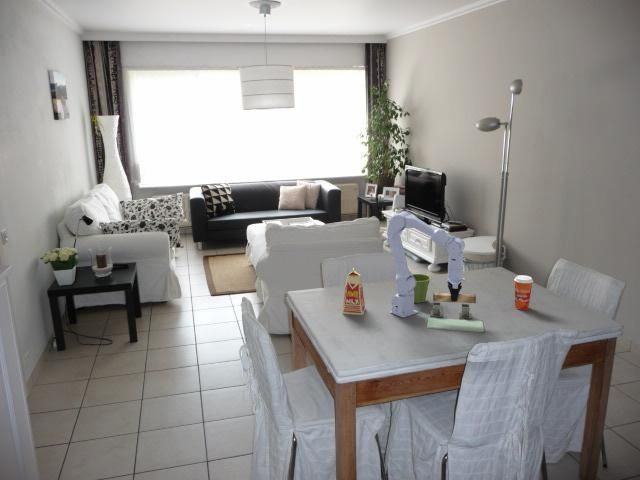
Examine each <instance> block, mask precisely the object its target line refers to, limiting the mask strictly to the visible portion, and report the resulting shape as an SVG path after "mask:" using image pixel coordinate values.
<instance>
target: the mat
mask: <svg viewBox="0 0 640 480" xmlns="http://www.w3.org/2000/svg"><path fill="white" fill-rule="evenodd" d="M426 328H427V329H432V330H449V331H460V332H463V331H464V332H475V333H476V332H477V333H484V332H485V331H484V323H483V321H482V320H472V319H456V318H455V319H454V318H442V317H427V325H426Z"/></svg>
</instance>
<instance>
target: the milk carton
mask: <svg viewBox="0 0 640 480" xmlns="http://www.w3.org/2000/svg"><path fill="white" fill-rule="evenodd" d="M345 280H346V281H345V287H344V298H343V306H342V313H341V314H342V315H343V314H344V315H355V316H364V313H365V310H366V303H365V296H364V287H363V282H362V281H363V280H362V275H361V274H360V273H359V272H357V271H356V270H355V268H354V267H352V270H351V272H349V273H348V274H347V277H346V279H345Z"/></svg>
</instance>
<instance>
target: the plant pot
mask: <svg viewBox="0 0 640 480" xmlns="http://www.w3.org/2000/svg"><path fill="white" fill-rule="evenodd" d="M412 275H413V277H414V278H415V280H416V287H415V288H414V304H416V303H417V304H419V303H424V302H426V299H427V296H428V295H427V293H428V289H429V284H430V282H431V281H430V280H432V277H431V275H428V274H423V273H412Z"/></svg>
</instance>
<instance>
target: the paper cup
mask: <svg viewBox="0 0 640 480" xmlns="http://www.w3.org/2000/svg"><path fill="white" fill-rule="evenodd" d="M513 280H514V308H515V309H516V308H517V310H520V311H527V310H528V309H529V307H530V301H531V293H532V287H533V283H534V280H533V278H532V277H531V276H529V275H523V274H521V275H516V276H515V278H514V279H513Z"/></svg>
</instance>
